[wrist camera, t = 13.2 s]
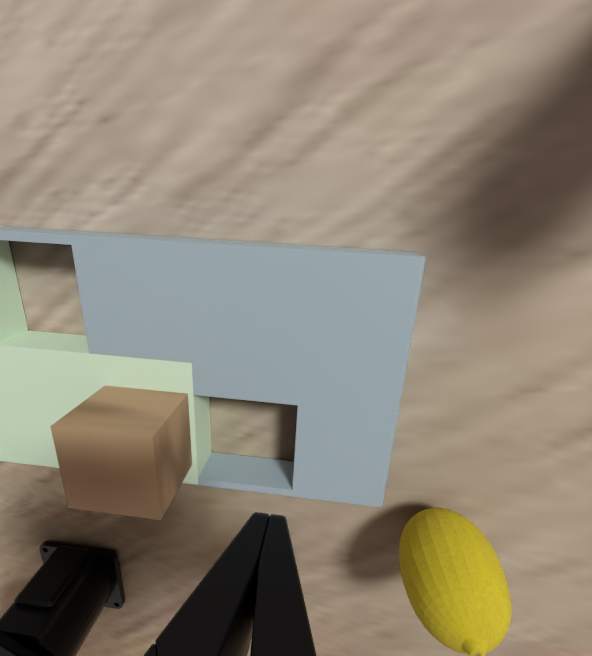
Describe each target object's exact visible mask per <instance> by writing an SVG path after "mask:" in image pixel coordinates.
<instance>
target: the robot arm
mask: <svg viewBox="0 0 592 656" xmlns="http://www.w3.org/2000/svg"><path fill="white" fill-rule="evenodd" d="M40 553H41V556H42V560H43V565H42V566H41V568H40V569H39V570H38V571H37V572H36V574H35V575H34V576H33V577H32V578H31V580H30V581H29V582H28V583H27V584H26V586H25V587H24V588H23V589H22V590H21V592H20V593H19V594H18V595H17V596H16V598H15V602H14V603H13V604H12V605H11V606H10V608H9V609H8V610H7V611H6V613H5V614H4V615H3V616H2V617H1V619H0V656H76V654H77V652H78V651H79V649H80V647H81V645H82V644H83V642H84V640H85V639H86V637H87V635H88V633H89V632H90V630H91V628H92V627H93V625H94V623H95V621H96V620H97V618H98V616H99V615H100V613H101V611H102V609H103V608H104V607H111V608H117V609H120V608H121V607H122V606H123V604H124V602H125V598H124V593H123V587H122V581H121V575H120V569H119V563H118V557H117V553H116V552H115V551H113V550H108V549H101V548H94V547H86V546H79V545H72V544H65V543H58V542H51V541H45V542H44V543H43V544H42V545H41V546H40ZM251 638H252V643H251V655H250V656H316V652H315V647H314V643H313V638H312V633H311V629H310V624H309V620H308V615H307V611H306V606H305V602H304V597H303V593H302V588H301V584H300V579H299V575H298V570H297V566H296V561H295V557H294V552H293V547H292V543H291V538H290V534H289V529H288V525H287V520H286V517H285V516H282V515H274V514H272V515H270V516H269V514H266V513H258V512H255V513H254V514H253V515H252V516H251V517H250V518H249V520H248V521H247V522H246V524H245V525H244V526H243V527H242V529H241V530H240V531H239V533H238V534H237V535H236V537H235V538H234V539H233V540H232V542H231V543H230V544H229V546H228V547H227V548H226V550H225V551H224V552H223V553H222V555H221V556H220V557H219V559H218V560H217V561H216V563H215V564H214V565H213V566H212V568H211V569H210V570H209V572H208V573H207V574H206V575H205V577H204V578H203V579H202V581H201V582H200V583H199V585H198V586H197V587H196V588H195V590H194V591H193V592H192V594H191V595H190V596H189V598H188V599H187V600H186V601H185V603H184V604H183V605H182V607H181V608H180V609H179V611H178V612H177V613H176V614H175V616H174V617H173V618H172V620H171V621H170V622H169V624H168V625H167V626H166V627H165V629H164V630H163V631H162V633H161V634H160V635H159V637H158V638H157V639H156V645H155V644H152V645H151V647H150V648H149V649H148V651H147V652H146V653H145V654H144V656H247V653H248V649H249V646H250V642H251Z"/></svg>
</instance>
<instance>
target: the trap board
mask: <svg viewBox="0 0 592 656" xmlns="http://www.w3.org/2000/svg"><path fill="white" fill-rule="evenodd" d="M9 241H22V242H37V243H52V244H67V245H71V246H72V252H73V258H74V264H75V270H76V276H77V283H78V289H79V295H80V301H81V307H82V313H83V320H84V326H85V332H86V336H85V335H74V334H62V333H51V332H40V331H29V330H28V327H27V322H26V318H25V313H24V308H23V304H22V299H21V295H20V290H19V286H18V281H17V277H16V272H15V268H14V263H13V259H12V254H11V250H10V245H9ZM425 260H426V257H424V256H422V255H420V254H417V253H415V252H408V251H392V250H376V249H360V248H344V247H328V246H312V245H296V244H280V243H264V242H248V241H232V240H216V239H200V238H184V237H168V236H152V235H136V234H120V233H104V232H88V231H72V230H56V229H40V228H24V227H8V226H0V461H6V462H14V463H22V464H31V465H39V466H47V467H55V468H59V464H58V459H57V455H56V450H55V445H54V441H53V436H52V432H51V427H50V426H51V425H53V424H54V423H55V422H57V421H58V420H59V419H61V418H62V417H63V416H65V415H66V414H67V413H69V412H70V411H71V410H73V409H74V408H75V407H77V406H78V405H79V404H81V403H82V402H83V401H85V400H86V399H87V398H89V397H90V396H91V395H93V394H94V393H95V392H97V391H98V390H100V389H101V388H102V387H104V386H105V385H106V386H116V387H126V388H136V389H146V390H156V391H167V392H177V393H187V394H188V403H189V419H190V436H191V452H192V466H191V468H190V470H189V471H188V473H187V475H186V477H185V479H184V480H183V482H182V483H186V484H194V485H203V486H211V487H219V488H227V489H235V490H244V491H252V492H260V493H268V494H276V495H285V496H293V497H301V498H309V499H317V500H326V501H334V502H342V503H350V504H358V505H367V506H375V507H382V504H383V498H384V493H385V487H386V481H387V476H388V470H389V464H390V459H391V453H392V447H393V442H394V436H395V430H396V425H397V419H398V413H399V408H400V402H401V396H402V391H403V385H404V379H405V374H406V368H407V362H408V357H409V351H410V345H411V340H412V334H413V328H414V323H415V317H416V311H417V306H418V300H419V294H420V289H421V283H422V277H423V272H424V266H425ZM209 397H219V398H229V399H239V400H249V401H259V402H269V403H279V404H289V405H298V409H297V425H296V441H295V457H294V461H285V460H276V459H268V458H259V457H250V456H241V455H232V454H224V453H215V452H211V427H210V399H209Z"/></svg>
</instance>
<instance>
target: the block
mask: <svg viewBox="0 0 592 656" xmlns="http://www.w3.org/2000/svg"><path fill="white" fill-rule="evenodd" d="M50 427H51V432H52V436H53V441H54V445H55V450H56V455H57V459H58V464H59V468H60V473H61V477H62V482H63V486H64V491H65V495H66V500H67V504H68V508H71V509H79V510H86V511H94V512H102V513H109V514H117V515H125V516H132V517H140V518H148V519H155V520H162V518H163V516H164V514H165V512H166V511H167V509H168V507H169V505H170V504H171V502H172V500H173V498H174V496H175V495H176V493H177V491H178V489H179V487H180V486H181V484H182V482H183V480H184V479H185V477H186V475H187V473H188V471H189V470H190V468H191V466H192V452H191V436H190V419H189V403H188V394H187V393H177V392H167V391H156V390H146V389H136V388H126V387H116V386H106V385H105V386H104V387H102V388H101V389H100V390H98V391H97V392H95V393H94V394H93V395H91V396H90V397H89V398H87V399H86V400H85V401H83V402H82V403H81V404H79V405H78V406H77V407H75V408H74V409H73V410H71V411H70V412H69V413H67V414H66V415H65V416H63V417H62V418H61V419H59V420H58V421H57V422H55V423H54V424H53V425H51V426H50Z"/></svg>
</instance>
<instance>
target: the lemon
mask: <svg viewBox="0 0 592 656" xmlns="http://www.w3.org/2000/svg"><path fill="white" fill-rule="evenodd" d="M399 566H400V572H401V576H402V579H403V583H404V586H405V589H406V592H407V595H408V598H409V600H410V603H411V605H412V607H413V609H414V611H415V613H416V615H417V616H418V618H419V620H420V621H421V622H422V624H423V625H424V627H425V628H426V629H427V630H428V632H429V633H430V634H431V635H432V636H433V637H435V638H436V639H437V640H438V641H439V642H441V643H442V644H443V645H445V646H446V647H448V648H450V649H452V650H454V651H456V652H459V653H462V654H468V655H470V656H485V655H486V653H487V652H490V651H491V650H493V649H494V648H496V647H497V646H498V645H499V644H500V643H501V641H502V640H503V639H504V637H505V635H506V633H507V631H508V628H509V625H510V620H511V599H510V593H509V589H508V584H507V581H506V578H505V575H504V572H503V569H502V567H501V564H500V562H499V559H498V557H497V555H496V553H495V551H494V549H493V548H492V546H491V544H490V543H489V541H488V540H487V539H486V537H485V536H484V535H483V534H482V532H481V531H480V530H479V529H478V528H477V527H476V526H475V525H474V524H473V523H472V522H471V521H469V520H468V519H467V518H465V517H464V516H462V515H461V514H459V513H456V512H454V511H451V510H448V509H443V508H429V509H425V510H422V511H420V512H418V513H417V514H415V515H414V516H413V517H411V519H410V520H409V521H408V522H407V524H406V525H405V527H404V530H403V532H402V534H401V538H400V544H399Z"/></svg>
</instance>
